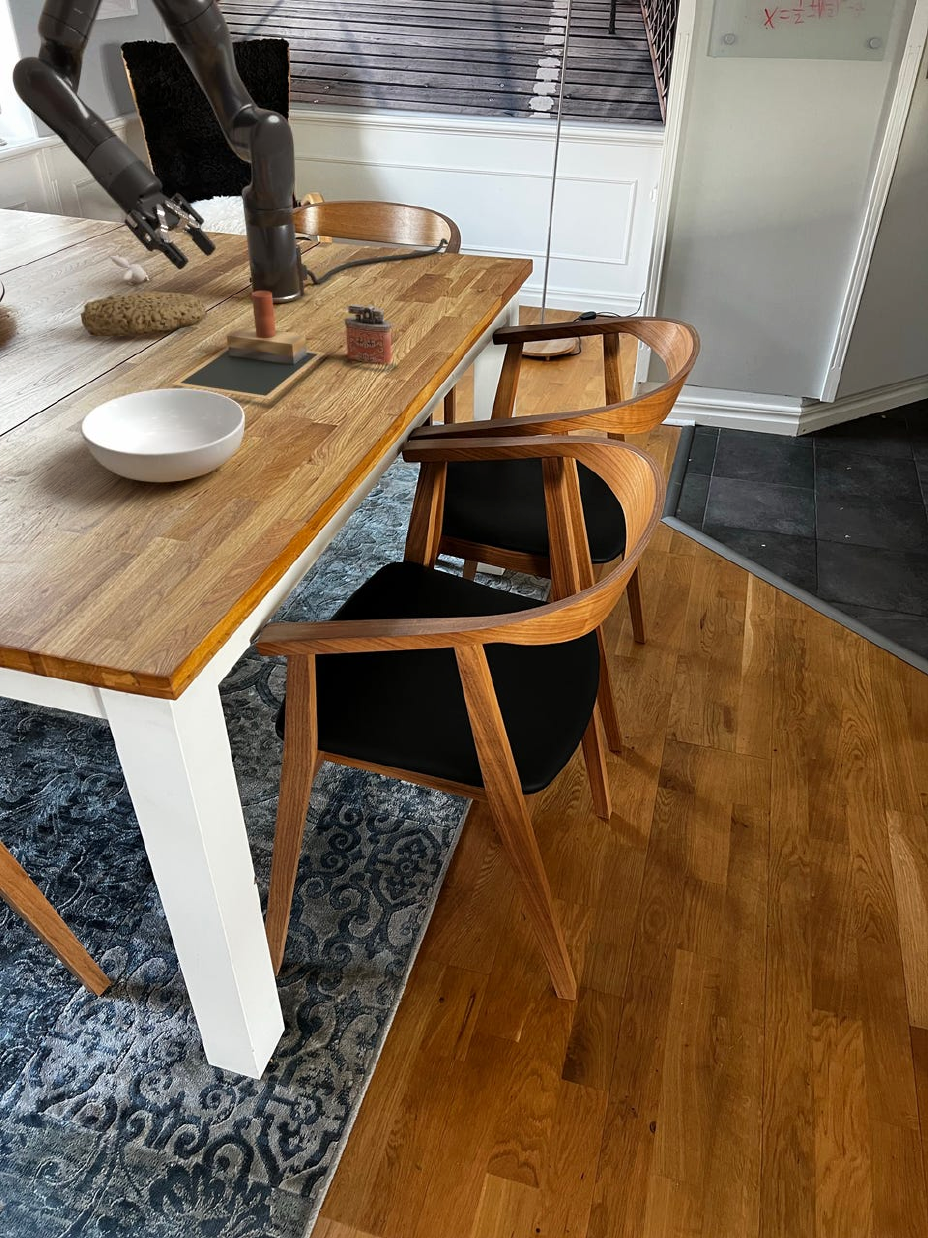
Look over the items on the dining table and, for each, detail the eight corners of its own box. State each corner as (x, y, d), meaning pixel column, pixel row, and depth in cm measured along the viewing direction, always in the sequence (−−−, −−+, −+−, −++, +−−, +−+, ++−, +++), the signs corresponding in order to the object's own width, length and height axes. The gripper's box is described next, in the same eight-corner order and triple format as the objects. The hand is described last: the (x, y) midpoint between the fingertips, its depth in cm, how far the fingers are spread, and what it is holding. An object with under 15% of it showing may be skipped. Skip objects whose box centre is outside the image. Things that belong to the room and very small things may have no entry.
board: (236, 346, 166) (236, 340, 165) (326, 359, 162) (325, 352, 161) (172, 391, 150) (170, 383, 149) (269, 406, 146) (268, 398, 145)
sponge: (87, 351, 166) (195, 329, 164) (71, 305, 163) (181, 282, 161) (114, 339, 178) (215, 318, 176) (100, 295, 175) (203, 275, 173)
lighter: (395, 365, 161) (394, 305, 155) (387, 372, 158) (386, 312, 152) (351, 358, 163) (349, 299, 157) (343, 365, 160) (340, 306, 154)
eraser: (229, 355, 159) (221, 293, 153) (243, 345, 163) (236, 284, 157) (294, 364, 157) (288, 302, 151) (307, 354, 160) (302, 293, 154)
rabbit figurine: (158, 282, 195) (127, 272, 188) (147, 295, 197) (116, 286, 190) (145, 260, 196) (114, 250, 189) (134, 274, 198) (103, 264, 191)
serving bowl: (170, 518, 118) (161, 468, 114) (58, 474, 127) (45, 426, 123) (281, 455, 132) (276, 409, 128) (173, 420, 141) (166, 375, 137)
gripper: (108, 167, 142) (187, 254, 146) (160, 151, 153) (233, 232, 157) (85, 202, 146) (163, 285, 150) (138, 183, 157) (209, 262, 161)
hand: (198, 258), depth 154 cm, fingers open, 8 cm apart
